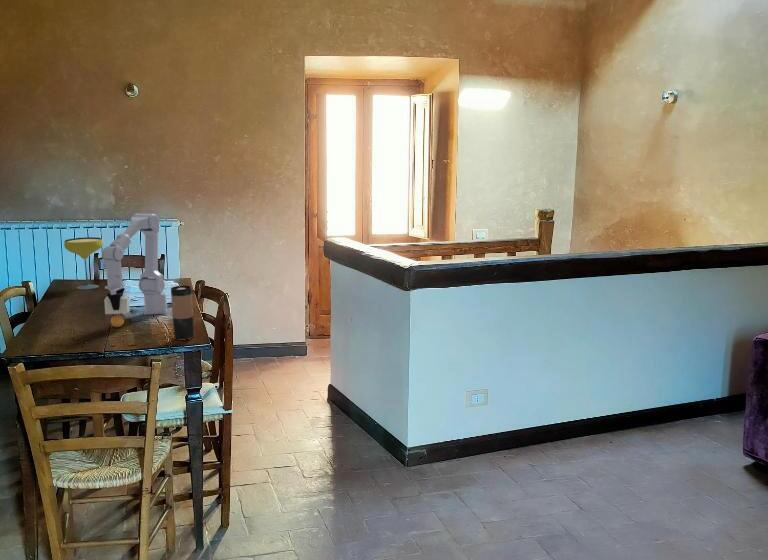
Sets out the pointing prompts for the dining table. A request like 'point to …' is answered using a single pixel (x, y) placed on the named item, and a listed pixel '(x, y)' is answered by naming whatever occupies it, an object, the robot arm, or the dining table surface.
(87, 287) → the cocktail glass
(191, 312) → the travel mug
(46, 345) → the dining table surface
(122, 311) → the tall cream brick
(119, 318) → the ball
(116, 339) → the dining table surface
